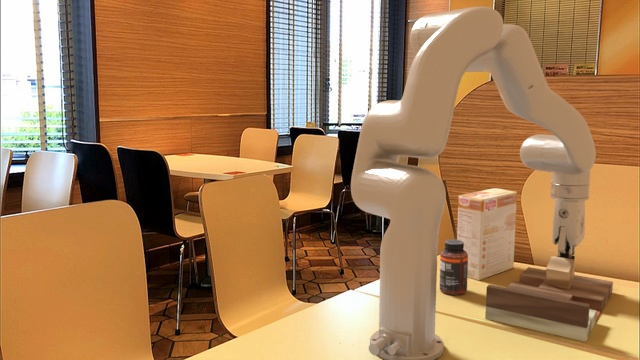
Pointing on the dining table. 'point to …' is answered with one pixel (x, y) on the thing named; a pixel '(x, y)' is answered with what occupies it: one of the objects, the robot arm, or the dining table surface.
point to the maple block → (560, 272)
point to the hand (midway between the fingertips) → (565, 273)
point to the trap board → (549, 304)
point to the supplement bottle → (453, 268)
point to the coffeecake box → (487, 231)
